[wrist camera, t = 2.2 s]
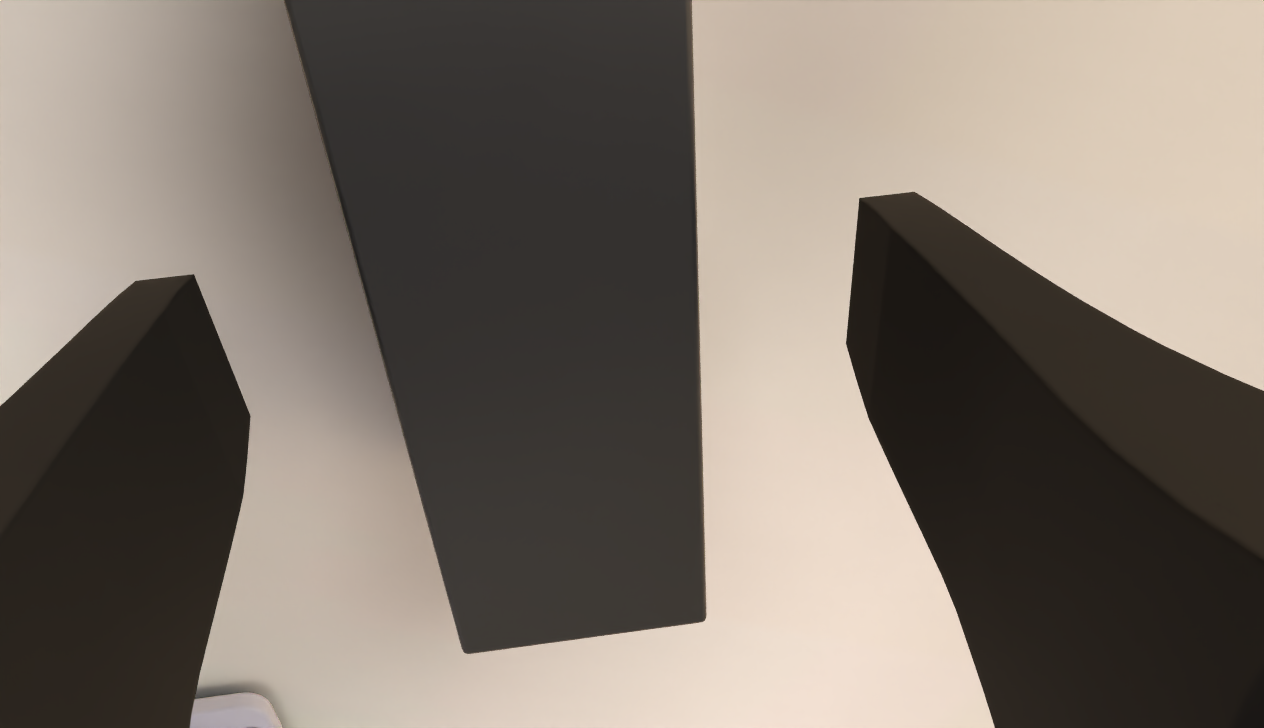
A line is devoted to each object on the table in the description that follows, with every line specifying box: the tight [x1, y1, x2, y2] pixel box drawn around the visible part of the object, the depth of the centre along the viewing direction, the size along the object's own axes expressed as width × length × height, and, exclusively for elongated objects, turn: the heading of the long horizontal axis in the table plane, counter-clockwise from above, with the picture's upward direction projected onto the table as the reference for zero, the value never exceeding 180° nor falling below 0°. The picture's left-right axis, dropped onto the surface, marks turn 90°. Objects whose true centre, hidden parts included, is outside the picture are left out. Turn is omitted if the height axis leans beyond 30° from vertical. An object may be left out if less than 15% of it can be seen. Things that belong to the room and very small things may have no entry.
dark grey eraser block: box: [284, 0, 706, 654], centre depth 13 cm, size 12×4×5 cm, turn 3°
